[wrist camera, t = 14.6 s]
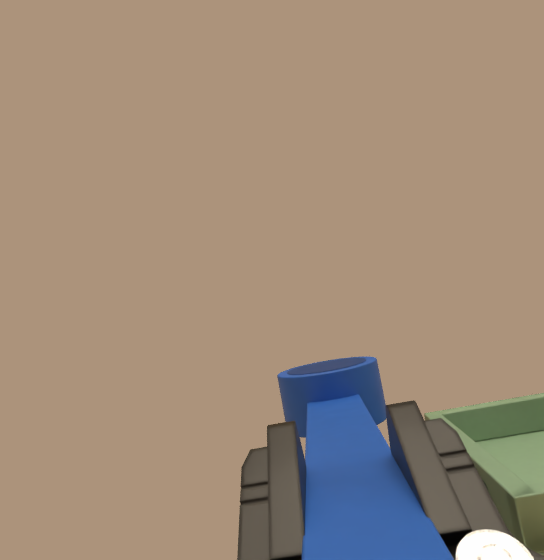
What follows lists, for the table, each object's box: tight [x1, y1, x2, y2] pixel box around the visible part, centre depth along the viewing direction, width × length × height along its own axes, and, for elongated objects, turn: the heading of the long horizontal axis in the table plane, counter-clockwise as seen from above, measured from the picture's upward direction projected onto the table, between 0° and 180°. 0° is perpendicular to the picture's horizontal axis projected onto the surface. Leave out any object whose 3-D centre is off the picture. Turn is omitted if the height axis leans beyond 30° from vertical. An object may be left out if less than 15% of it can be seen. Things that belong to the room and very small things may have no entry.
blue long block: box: [278, 357, 454, 560], centre depth 16 cm, size 20×5×3 cm, turn 176°
